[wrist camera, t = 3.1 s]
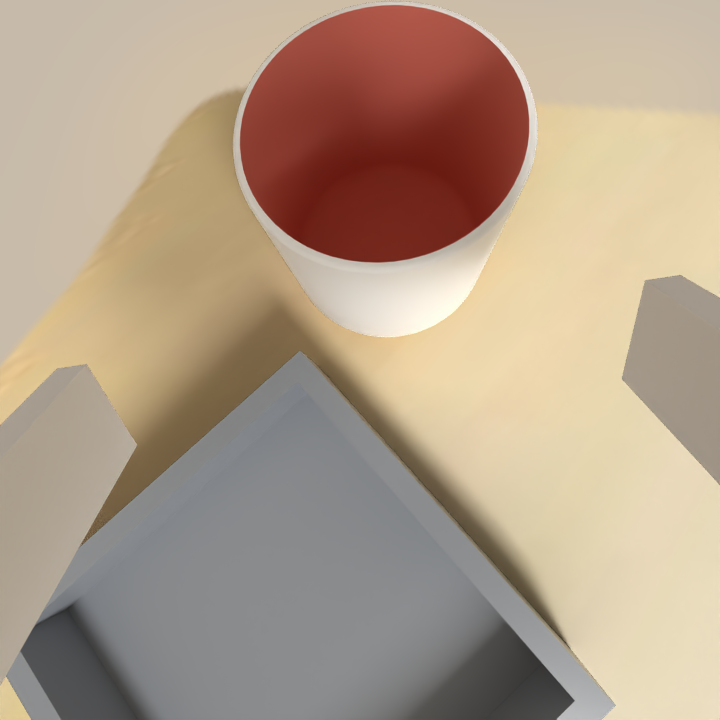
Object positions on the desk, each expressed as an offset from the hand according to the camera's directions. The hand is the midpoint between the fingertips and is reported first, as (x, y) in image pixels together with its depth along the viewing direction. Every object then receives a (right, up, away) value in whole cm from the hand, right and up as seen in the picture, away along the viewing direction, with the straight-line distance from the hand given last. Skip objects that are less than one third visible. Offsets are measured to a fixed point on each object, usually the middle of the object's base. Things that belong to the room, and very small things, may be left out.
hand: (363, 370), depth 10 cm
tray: (-3, -13, +10) cm, 16 cm away
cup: (+1, +6, +13) cm, 15 cm away
